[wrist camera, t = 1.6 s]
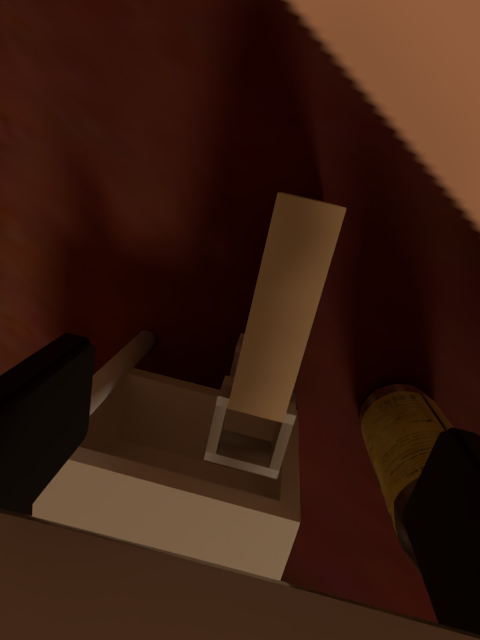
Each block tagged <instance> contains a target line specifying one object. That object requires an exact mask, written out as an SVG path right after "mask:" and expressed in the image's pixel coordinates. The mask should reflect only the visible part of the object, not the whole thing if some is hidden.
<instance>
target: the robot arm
mask: <svg viewBox="0 0 480 640" xmlns="http://www.w3.org/2000/svg"><path fill="white" fill-rule="evenodd" d="M94 359H95V346H94V345H92V344H90V340H89V339H88V338H86V337H82V336H78V335H74V334H70V333H65V334H63V335H62V336H60V337H59V338H57V339H56V340H54V341H53V342H51V343H49V344H48V345H46V346H45V347H43V348H42V349H40V350H39V351H37V352H36V353H34V354H33V355H31V356H30V357H28V358H27V359H25V360H23V361H22V362H20V363H19V364H17V365H16V366H14V367H13V368H11V369H10V370H8V371H7V372H5V373H4V374H2V375H1V376H0V640H480V437H479V435H477V434H476V433H473V432H469V431H465V430H461V429H457V428H453V427H452V428H449V429H448V430H447V431H442V432H441V433H440V434H439V436H438V438H437V440H436V442H435V444H434V446H433V448H432V450H431V453H430V455H429V457H428V459H427V461H426V463H425V465H424V468H423V470H422V472H421V474H420V476H419V478H418V480H417V482H416V485H415V487H414V489H413V491H412V493H411V495H410V497H409V500H408V502H407V504H406V506H405V508H404V512H403V522H404V526H405V528H406V531H407V534H408V537H409V540H410V543H411V546H412V548H413V551H414V554H415V557H416V560H417V563H418V566H419V569H420V571H421V574H422V577H423V580H424V583H425V586H426V589H427V591H428V594H429V597H430V600H431V603H432V606H433V609H434V611H435V614H436V617H437V620H438V623H439V624H438V623H435V622H431V621H427V620H424V619H420V618H416V617H413V616H409V615H405V614H402V613H398V612H394V611H390V610H387V609H383V608H379V607H376V606H372V605H368V604H365V603H361V602H357V601H354V600H350V599H346V598H343V597H339V596H335V595H332V594H328V593H324V592H320V591H316V590H313V589H309V588H305V587H301V586H298V585H294V584H290V583H286V582H283V581H279V580H275V579H271V578H268V577H264V576H260V575H256V574H253V573H249V572H245V571H241V570H237V569H234V568H230V567H226V566H222V565H219V564H215V563H211V562H207V561H203V560H200V559H196V558H192V557H188V556H185V555H181V554H177V553H173V552H169V551H165V550H161V549H158V548H154V547H150V546H146V545H142V544H138V543H134V542H130V541H127V540H123V539H119V538H115V537H111V536H107V535H103V534H100V533H96V532H92V531H88V530H84V529H80V528H76V527H72V526H69V525H65V524H61V523H57V522H53V521H49V520H45V519H41V518H37V517H33V516H29V515H25V513H26V512H27V510H28V509H29V508H30V507H31V505H32V504H33V503H34V502H35V500H36V499H37V498H38V497H39V495H40V494H41V493H42V492H43V490H44V489H45V488H46V487H47V486H48V484H49V483H50V482H51V481H52V479H53V478H54V477H55V476H56V474H57V473H58V472H59V471H60V469H61V468H62V467H63V466H64V464H65V463H66V462H67V461H68V459H69V458H70V457H71V456H72V454H73V453H74V452H75V451H76V449H77V448H78V447H79V446H80V444H81V443H82V442H83V441H84V439H85V437H86V435H87V432H88V427H89V416H90V404H91V393H92V382H93V370H94Z"/></svg>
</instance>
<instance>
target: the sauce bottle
mask: <svg viewBox="0 0 480 640" xmlns="http://www.w3.org/2000/svg"><path fill="white" fill-rule="evenodd" d="M360 420H361V431H362V436H363V439H364V442H365V445H366V447H367V450H368V454H369V456H370V459H371V462H372V465H373V468H374V472H375V474H376V478H377V481H378V484H379V486H380V487H381V491H382V494H383V497H384V499H385V503H386V505H387V508H388V511H389V514H390V518H391V520H392V523H393V525H394V528H395V531H396V534H397V537H398V540H399V542H400V544H401V547H402V549H403V550H404V552H405V554H406V555H407V557H408V558H409V559H410V560H411V562H412V563H413V564H414V565H415V567H416V568H417V569H418V570H419V572H420V573H421V571H420V569H419V566H418V563H417V560H416V557H415V554H414V551H413V548H412V546H411V543H410V540H409V537H408V534H407V531H406V528H405V526H404V522H403V512H404V508H405V506H406V504H407V502H408V500H409V497H410V495H411V493H412V491H413V489H414V487H415V485H416V482H417V480H418V478H419V476H420V474H421V472H422V470H423V468H424V465H425V463H426V461H427V459H428V457H429V455H430V453H431V450H432V448H433V446H434V444H435V442H436V440H437V438H438V436H439V434H440V433H441V432H442V431H447V430H448V429H449V428H452V427H453V426H452V425H451V423H450V422H449V421H448V419H447V418H446V417H445V415H444V414H443V413H442V411H441V410H440V408H439V407H438V406H437V404H436V403H435V402H434V401H433V400H432V399H430V398H429V397H428V396H427V395H426V394H425V393H423V392H422V391H421V390H419V389H418V388H416V387H414V386H412V385H408V384H394V385H386V386H383V387H380V388H378V389H377V390H375V391H373V392H372V393H371V394H370V395H369V396H368V397H367V398H366V400H365V401H364V403H363V404H362V407H361V410H360ZM453 428H454V427H453Z"/></svg>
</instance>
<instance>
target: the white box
mask: <svg viewBox="0 0 480 640" xmlns="http://www.w3.org/2000/svg"><path fill="white" fill-rule="evenodd" d="M155 341H156V340H155V336H154V335H153V333H151V332H150V331H146V330H145V331H141V332H140V333H139V334H138V335H137V336H136V337H134V338H133V339H132V340H131V341H130V342H129V343H128V344H127V345H126V346H125V347H124V348H122V349H121V350H120V351H119V352H118V353H117V354H116V355H115V356H114V357H113V358H112V359H110V360H109V361H108V362H107V363H106V364H105V365H104V366H103V367H102V368H101V369H100V370H98V371H97V372H96V373H95V374H94V375H93V382H92V393H91V404H90V416H89V427H88V432H87V435H86V437H85V439H84V441H83V442H82V443H81V444H80V446H79V447H78V448H77V449H76V451H75V452H74V453H73V454H72V456H71V457H70V458H69V459H68V461H67V462H66V463H65V464H64V466H63V467H62V468H61V469H60V471H59V472H58V473H57V474H56V476H55V477H54V478H53V479H52V481H51V482H50V483H49V484H48V486H47V487H46V488H45V489H44V490H43V492H42V493H41V494H40V495H39V497H38V498H37V499H36V500H35V502H34V503H33V514H32V516H33V517H37V518H41V519H45V520H49V521H53V522H57V523H61V524H65V525H69V526H72V527H76V528H80V529H84V530H88V531H92V532H96V533H100V534H103V535H107V536H111V537H115V538H119V539H123V540H127V541H130V542H134V543H138V544H142V545H146V546H150V547H154V548H158V549H161V550H165V551H169V552H173V553H177V554H181V555H185V556H188V557H192V558H196V559H200V560H203V561H207V562H211V563H215V564H219V565H222V566H226V567H230V568H234V569H237V570H241V571H245V572H249V573H253V574H256V575H260V576H264V577H268V578H271V579H275V580H279V581H280V579H281V576H282V574H283V571H284V568H285V565H286V562H287V559H288V556H289V554H290V551H291V548H292V545H293V542H294V539H295V536H296V534H297V531H298V528H299V525H300V488H299V445H298V410H296V418H295V421H294V425H293V428H292V431H291V434H290V438H289V441H288V444H287V447H286V451H285V454H284V457H283V461H282V464H281V467H280V470H279V474H278V477H277V479H274V478H271V477H267V476H263V475H259V474H256V473H252V472H248V471H244V470H241V469H237V468H233V467H229V466H226V465H222V464H218V463H214V462H211V461H207V460H204V457H205V452H206V448H207V443H208V438H209V434H210V429H211V425H212V420H213V416H214V411H215V407H216V402H217V398H218V394H219V391H220V390H218V389H214V388H210V387H206V386H203V385H199V384H195V383H191V382H187V381H183V380H179V379H175V378H171V377H167V376H163V375H160V374H156V373H152V372H148V371H144V370H140V369H136V368H134V367H135V365H136V364H137V363H138V362H139V361H140V360H141V359H142V358H143V357H144V356H145V354H146V353H147V352H148V351H149V350H150V349H151V348H152V347H153V346H154V344H155ZM276 424H277V421H273V420H270V419H266V418H262V417H258V416H254V415H250V414H246V413H243V412H239V411H235V410H231V409H228V410H227V414H226V418H225V422H224V427H223V429H224V430H228V431H232V432H236V433H239V434H243V435H247V436H251V437H255V438H259V439H262V440H266V441H270V442H272V438H273V435H274V431H275V428H276Z"/></svg>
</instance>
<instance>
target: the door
mask: <svg viewBox="0 0 480 640" xmlns="http://www.w3.org/2000/svg"><path fill="white" fill-rule="evenodd" d="M345 212H346V208H345V207H342V206H338V205H335V204H331V203H328V202H324V201H320V200H315V199H311V198H307V197H302V196H298V195H293V194H289V193H284V192H278V193H277V198H276V202H275V206H274V210H273V215H272V219H271V223H270V228H269V232H268V236H267V240H266V245H265V249H264V253H263V258H262V262H261V266H260V271H259V275H258V279H257V283H256V288H255V292H254V296H253V301H252V305H251V309H250V313H249V318H248V322H247V326H246V331H245V334H243V333H241V334H240V337H239V340H238V342H237V345H236V350H235V354H234V359H233V363H232V367H231V372H230V376H226V375H225V378H224V381H223V383H222V386H221V389H220V391H219V394H218V398H217V402H216V407H215V411H214V416H213V420H212V425H211V429H210V434H209V438H208V443H207V448H206V452H205V457H204V460H207V461H211V462H214V463H218V464H222V465H226V466H229V467H233V468H237V469H241V470H244V471H248V472H252V473H256V474H259V475H263V476H267V477H271V478H274V479H277V477H278V474H279V470H280V467H281V464H282V461H283V457H284V454H285V451H286V447H287V444H288V441H289V438H290V434H291V431H292V428H293V425H294V421H295V418H296V393H293V392H292V391H293V388H294V385H295V381H296V378H297V374H298V371H299V368H300V364H301V361H302V357H303V354H304V351H305V347H306V344H307V341H308V337H309V334H310V330H311V327H312V324H313V320H314V317H315V313H316V310H317V307H318V303H319V300H320V296H321V293H322V290H323V286H324V283H325V280H326V276H327V273H328V269H329V266H330V263H331V259H332V256H333V252H334V249H335V246H336V242H337V239H338V235H339V232H340V229H341V225H342V222H343V219H344V215H345ZM228 409H231V410H235V411H239V412H243V413H246V414H250V415H254V416H258V417H262V418H266V419H270V420H273V421H277V424H276V428H275V431H274V435H273V438H272V442H270V441H266V440H262V439H259V438H255V437H251V436H247V435H243V434H239V433H236V432H232V431H228V430H224V429H223V427H224V422H225V418H226V414H227V410H228Z"/></svg>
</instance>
